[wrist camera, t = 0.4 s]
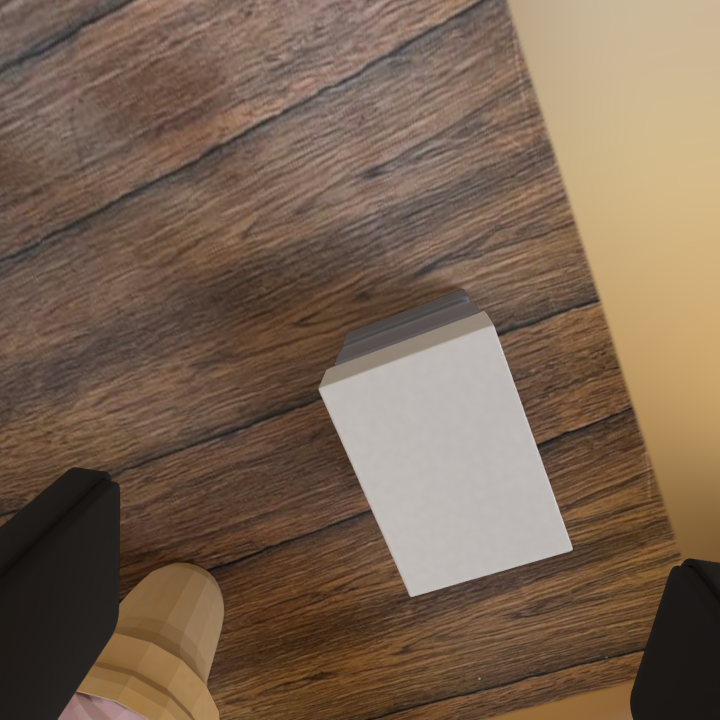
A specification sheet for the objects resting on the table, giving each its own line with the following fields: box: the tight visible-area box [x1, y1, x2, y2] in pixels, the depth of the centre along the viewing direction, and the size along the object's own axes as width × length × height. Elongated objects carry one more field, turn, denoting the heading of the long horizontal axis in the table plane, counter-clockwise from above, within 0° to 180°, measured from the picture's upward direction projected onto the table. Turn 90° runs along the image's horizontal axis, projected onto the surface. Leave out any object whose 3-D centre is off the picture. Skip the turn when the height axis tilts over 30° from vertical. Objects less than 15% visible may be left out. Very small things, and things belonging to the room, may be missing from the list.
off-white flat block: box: [318, 311, 573, 597], centre depth 24 cm, size 10×7×2 cm
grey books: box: [334, 289, 480, 366], centre depth 29 cm, size 10×7×6 cm, turn 22°
